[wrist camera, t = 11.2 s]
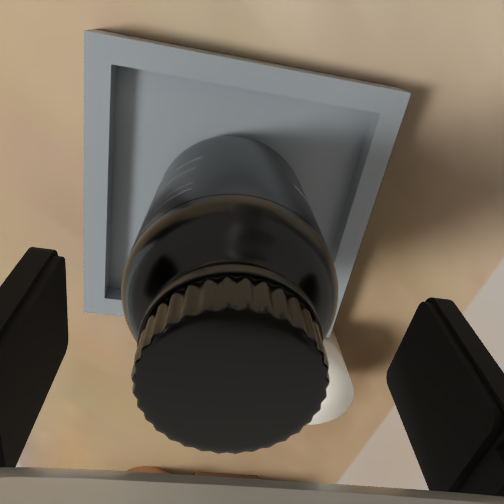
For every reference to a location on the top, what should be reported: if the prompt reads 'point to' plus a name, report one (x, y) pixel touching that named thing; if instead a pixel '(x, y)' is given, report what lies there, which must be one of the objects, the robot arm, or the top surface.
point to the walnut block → (225, 475)
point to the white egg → (335, 384)
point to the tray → (222, 124)
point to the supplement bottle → (229, 300)
